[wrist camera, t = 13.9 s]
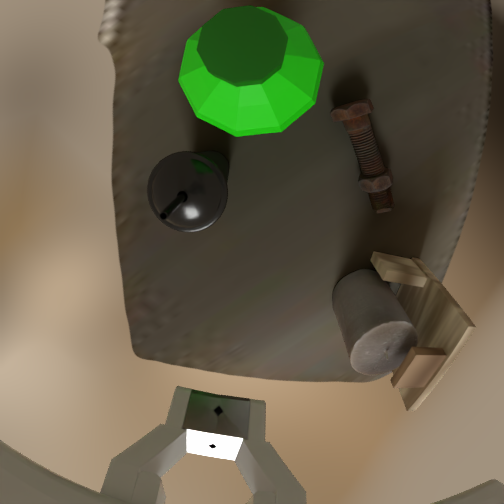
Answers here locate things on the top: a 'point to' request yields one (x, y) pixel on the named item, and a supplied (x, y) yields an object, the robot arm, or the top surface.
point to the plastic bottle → (250, 71)
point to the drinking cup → (189, 189)
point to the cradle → (424, 326)
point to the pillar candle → (372, 323)
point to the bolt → (366, 153)
